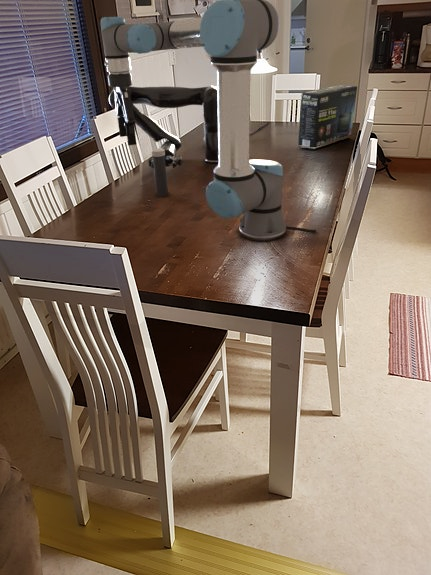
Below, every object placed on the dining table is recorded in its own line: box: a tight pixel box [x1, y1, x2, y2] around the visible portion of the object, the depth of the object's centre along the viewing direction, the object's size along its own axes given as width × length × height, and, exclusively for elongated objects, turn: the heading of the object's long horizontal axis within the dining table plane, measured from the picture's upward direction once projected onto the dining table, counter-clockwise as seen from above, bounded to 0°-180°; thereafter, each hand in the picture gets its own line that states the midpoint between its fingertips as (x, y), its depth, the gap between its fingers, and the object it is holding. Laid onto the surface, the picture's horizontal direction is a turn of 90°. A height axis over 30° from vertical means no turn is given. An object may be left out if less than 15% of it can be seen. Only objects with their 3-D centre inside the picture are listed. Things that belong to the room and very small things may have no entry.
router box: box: [297, 84, 358, 151], centre depth 238 cm, size 36×11×27 cm, turn 134°
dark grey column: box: [152, 155, 169, 197], centre depth 180 cm, size 5×5×17 cm
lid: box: [151, 147, 165, 157], centre depth 176 cm, size 5×5×2 cm
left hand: (163, 165), depth 195 cm, fingers open, 8 cm apart
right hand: (128, 140), depth 158 cm, fingers open, 13 cm apart
